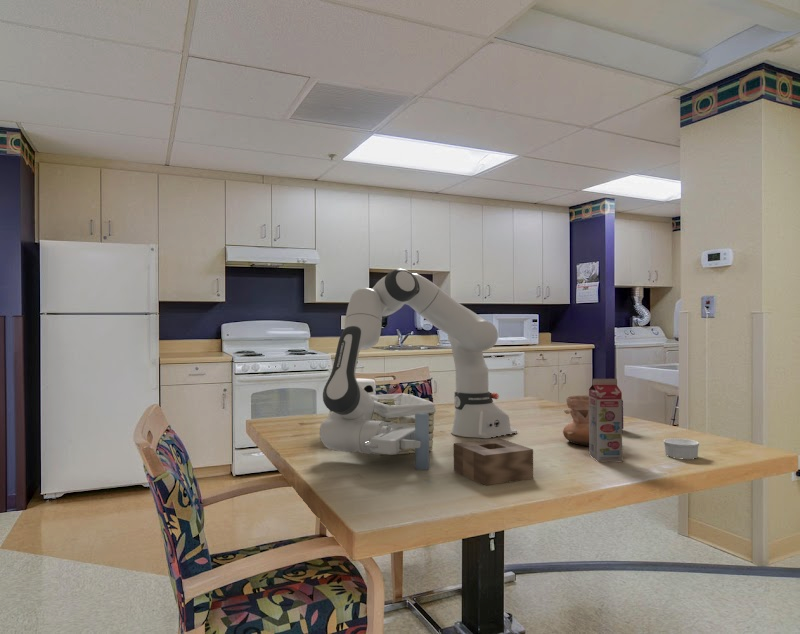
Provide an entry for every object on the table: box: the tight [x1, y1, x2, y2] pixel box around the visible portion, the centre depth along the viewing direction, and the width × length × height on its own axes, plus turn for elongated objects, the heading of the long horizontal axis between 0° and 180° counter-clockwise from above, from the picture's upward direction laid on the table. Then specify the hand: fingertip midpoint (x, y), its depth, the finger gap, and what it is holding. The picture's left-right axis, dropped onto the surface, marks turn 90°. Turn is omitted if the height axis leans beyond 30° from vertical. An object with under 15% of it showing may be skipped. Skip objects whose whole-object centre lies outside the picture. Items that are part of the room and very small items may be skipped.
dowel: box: [414, 413, 430, 471], centre depth 142 cm, size 4×4×14 cm
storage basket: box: [370, 392, 437, 456], centre depth 167 cm, size 24×16×15 cm
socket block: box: [453, 437, 534, 486], centre depth 135 cm, size 14×14×7 cm
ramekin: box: [663, 437, 700, 460], centre depth 153 cm, size 9×9×4 cm
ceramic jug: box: [562, 394, 589, 446], centre depth 170 cm, size 18×14×14 cm
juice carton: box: [588, 378, 623, 462], centre depth 151 cm, size 7×7×22 cm
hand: (425, 441), depth 142 cm, fingers open, 6 cm apart
